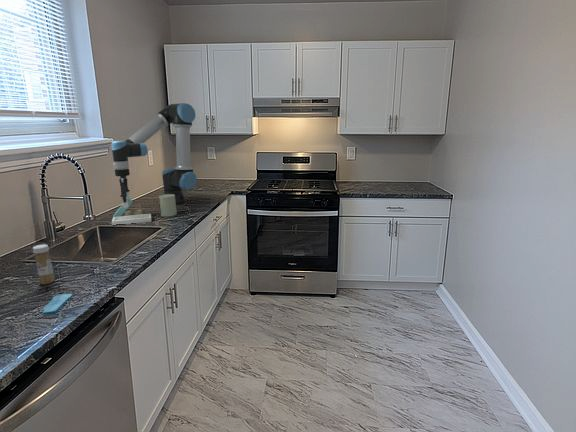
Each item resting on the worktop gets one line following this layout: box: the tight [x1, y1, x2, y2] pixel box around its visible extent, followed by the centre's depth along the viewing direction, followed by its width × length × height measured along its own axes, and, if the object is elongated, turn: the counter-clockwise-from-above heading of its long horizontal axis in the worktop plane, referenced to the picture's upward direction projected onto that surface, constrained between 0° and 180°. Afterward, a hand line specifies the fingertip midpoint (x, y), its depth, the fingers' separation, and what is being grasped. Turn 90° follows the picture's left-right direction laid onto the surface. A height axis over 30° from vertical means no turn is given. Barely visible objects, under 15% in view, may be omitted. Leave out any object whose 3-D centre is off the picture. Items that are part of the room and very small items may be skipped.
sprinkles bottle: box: [32, 244, 56, 285], centre depth 130 cm, size 5×5×13 cm
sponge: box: [41, 293, 74, 315], centre depth 115 cm, size 2×12×6 cm
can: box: [158, 194, 178, 217], centre depth 220 cm, size 9×9×12 cm
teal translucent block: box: [124, 203, 143, 216], centre depth 216 cm, size 9×4×8 cm, turn 110°
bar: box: [112, 197, 133, 218], centre depth 214 cm, size 13×5×3 cm
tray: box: [111, 213, 152, 226], centre depth 208 cm, size 20×10×2 cm, turn 110°
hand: (126, 205), depth 214 cm, fingers open, 13 cm apart
